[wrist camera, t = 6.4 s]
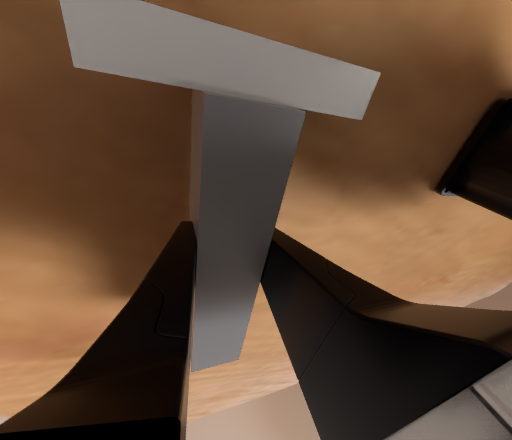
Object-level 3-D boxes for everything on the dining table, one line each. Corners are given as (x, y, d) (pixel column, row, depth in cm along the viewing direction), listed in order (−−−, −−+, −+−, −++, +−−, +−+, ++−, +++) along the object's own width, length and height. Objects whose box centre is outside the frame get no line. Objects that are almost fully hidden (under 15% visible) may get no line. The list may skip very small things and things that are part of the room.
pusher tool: (260, 304, 15) (277, 349, 12) (144, 324, 12) (138, 386, 10) (329, 71, 8) (398, 73, 5) (94, 7, 5) (34, -41, 3)
